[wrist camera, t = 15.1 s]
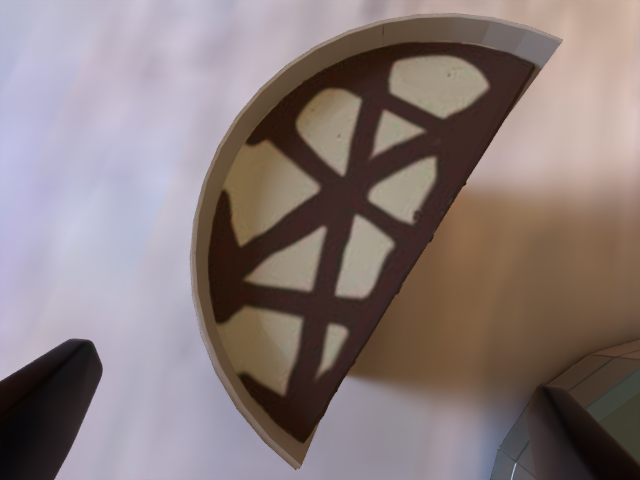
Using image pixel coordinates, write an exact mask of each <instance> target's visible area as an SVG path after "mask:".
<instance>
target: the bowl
mask: <svg viewBox="0 0 640 480" xmlns="http://www.w3.org/2000/svg"><path fill="white" fill-rule="evenodd" d="M547 385H558V386H561V387H563V388H565V389H566V390H567V391H568V392H569V393H570V394H571V395H572V396H573V397H574V398H575V399H576V400H577V401H578V402H579V403H580V404H581V405H582V406H583V407H584V408H585V409H586V410H587V411H588V412H589V413H590V414H591V415H592V416H593V417H594V418H595V419H596V420H597V421H598V422H599V423H600V424H601V425H602V426H603V427H604V428H605V429H606V430H607V431H608V432H609V433H610V434H611V435H612V436H613V437H614V438H615V439H616V440H617V441H618V442H619V443H620V444H621V445H622V446H623V447H624V448H625V449H626V450H627V451H628V452H629V453H630V454H631V455H632V456H633V457H634V458H635V459H636V460H637V461H638V462H639V463H640V339H638V340H635V341H632V342H628V343H625V344H621V345H618V346H614V347H611V348H607V349H604V350H600V351H597V352H594V353H590V354H589V355H587V356H586V357H584V358H583V359H582V360H580V361H579V362H578V363H576V364H575V365H573V366H572V367H571V368H569V369H568V370H566V371H565V372H564V373H562V374H561V375H560V376H558V377H557V378H555V379H554V380H553V381H551V382H550V383H549V384H547ZM529 403H530V402H529ZM528 405H529V404H528ZM528 405H527V407H528ZM527 407H526V408H525V410H524V411H523V413H522V414H521V416H520V417H519V419H518V420H517V422H516V423H515V425H514V426H513V427H512V429H511V430H510V432H509V433H508V435H507V436H506V438H505V439H504V441H503V442H502V444H501V445H500V449H498V453H497V457H496V460H495V464H494V468H493V471H492V475H491V479H490V480H536V477H535V472H534V466H533V460H532V454H531V449H530V443H529V437H528V431H527V425H526V410H527Z"/></svg>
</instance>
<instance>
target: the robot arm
mask: <svg viewBox="0 0 640 480" xmlns="http://www.w3.org/2000/svg"><path fill="white" fill-rule="evenodd" d="M102 371H103V368H102V363H101V361H100V358H99V356H98V353H97V351H96V348H95V346H94V344H93V342H92V341H90V340H85V339H69V340H67V341H65V342H64V343H62V344H60V345H59V346H57V347H56V348H54V349H52V350H51V351H49V352H47V353H46V354H44V355H43V356H41V357H39V358H38V359H36V360H34V361H33V362H31V363H30V364H28V365H26V366H25V367H23V368H21V369H20V370H18V371H17V372H15V373H13V374H12V375H10V376H8V377H7V378H5V379H4V380H2V381H0V480H54V479H55V477H56V475H57V473H58V472H59V470H60V468H61V466H62V464H63V462H64V461H65V459H66V457H67V455H68V453H69V451H70V449H71V447H72V445H73V443H74V440H75V438H76V436H77V434H78V431H79V429H80V427H81V424H82V422H83V419H84V417H85V415H86V412H87V410H88V408H89V405H90V403H91V400H92V398H93V396H94V393H95V391H96V389H97V386H98V384H99V382H100V379H101V376H102ZM526 425H527V431H528V437H529V443H530V449H531V454H532V460H533V466H534V472H535V477H536V480H640V463H639V462H638V461H637V460H636V459H635V458H634V457H633V456H632V455H631V454H630V453H629V452H628V451H627V450H626V449H625V448H624V447H623V446H622V445H621V444H620V443H619V442H618V441H617V440H616V439H615V438H614V437H613V436H612V435H611V434H610V433H609V432H608V431H607V430H606V429H605V428H604V427H603V426H602V425H601V424H600V423H599V422H598V421H597V420H596V419H595V418H594V417H593V416H592V415H591V414H590V413H589V412H588V411H587V410H586V409H585V408H584V407H583V406H582V405H581V404H580V403H579V402H578V401H577V400H576V399H575V398H574V397H573V396H572V395H571V394H570V393H569V392H568V391H567V390H566V389H565V388H563V387H561V386H558V385H547V384H540V385H539V386H537V388H536V390H535V392H534V394H533V396H532V399H531V401H530V403H529V405H528V407H527V410H526Z"/></svg>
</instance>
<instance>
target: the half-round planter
mask: <svg viewBox="0 0 640 480" xmlns="http://www.w3.org/2000/svg"><path fill="white" fill-rule="evenodd" d="M562 41H563V39H560V38H558V37H555V36H552V35H550V34H547V33H545V32H542V31H540V30H537V29H535V28H532V27H530V26H526V25H522V24H518V23H514V22H510V21H506V20H501V19H497V18H493V17H485V16H476V15H467V14H458V13H448V14H417V15H411V16H405V17H399V18H392V19H386V20H382V21H378V22H375V23H372V24H369V25H365V26H362V27H359V28H355V29H352V30H349V31H347V32H345V33H342V34H340V35H338V36H336V37H334V38H332V39H330V40H327V41H325V42H323V43H321V44H319V45H317V46H315V47H314V48H312V49H311V50H309V51H307V52H306V53H304V54H303V55H301V56H300V57H298V58H297V59H295V60H294V61H292V62H291V63H289V64H288V65H286V66H285V67H284V68H283V69H282V70H280V71H279V72H278V73H277V74H276V75H275V76H274V77H273V78H271V79H270V80H269V81H268V82H267V83H266V84H265V85H263V86H262V87H261V88H260V89H259V90H258V92H257V93H256V94H255V95H254V96H253V97H252V99H251V100H250V101H249V102H248V103H247V105H246V106H245V107H244V108H243V109H242V111H241V112H240V113H239V114H238V115H237V117H236V118H235V120H234V122H233V123H232V125H231V126H230V128H229V130H228V131H227V133H226V135H225V136H224V138H223V139H222V141H221V143H220V144H219V146H218V148H217V150H216V153H215V155H214V158H213V160H212V162H211V165H210V167H209V169H208V172H207V174H206V177H205V179H204V182H203V185H202V188H201V192H200V196H199V200H198V204H197V208H196V212H195V216H194V220H193V229H192V240H191V251H190V269H191V285H192V298H193V302H194V307H195V311H196V316H197V320H198V325H199V329H200V334H201V337H202V339H203V342H204V344H205V347H206V350H207V352H208V355H209V357H210V360H211V362H212V365H213V367H214V370H215V372H216V374H217V376H218V378H219V379H220V381H221V383H222V384H223V386H224V388H225V389H226V391H227V393H228V395H229V396H230V398H231V400H232V401H233V403H234V405H235V406H236V408H237V410H238V411H239V412H240V413H241V414H242V416H243V417H244V418H245V419H246V420H247V422H248V423H249V424H250V425H251V426H252V428H253V429H254V430H255V431H256V433H257V434H258V435H259V436H260V437H261V439H262V440H263V441H264V442H265V443H266V444H267V445H268V446H269V447H270V448H272V449H273V450H274V451H275V452H276V453H277V454H278V455H279V456H281V457H282V458H283V459H284V460H285V461H286V462H287V463H288V464H290V465H291V466H292V467H293V468H294V469H295V470H296V469H297V468H298V469H300V467H301V465H302V463H303V461H304V458H305V456H306V453H307V451H308V448H309V446H310V443H311V441H312V439H313V436H314V434H315V431H316V429H317V426H318V424H319V422H320V420H321V419H322V417H323V416H324V414H325V412H326V410H327V407H328V405H329V403H330V401H331V399H332V398H333V396H334V394H335V393H336V392H337V391H338V388H339V386H340V384H341V383H342V381H343V379H344V378H345V376H346V375H347V373H348V371H349V370H350V368H351V367H352V366H353V365H354V364H355V363H356V359H357V357H358V356H359V354H360V352H361V351H362V349H363V348H364V346H365V344H366V343H367V341H368V340H369V338H370V336H371V335H372V333H373V331H374V330H375V328H376V326H377V325H378V323H379V321H380V320H381V318H382V316H383V315H384V313H385V312H386V310H387V308H388V307H389V305H390V303H391V302H392V300H393V298H394V297H395V295H397V294H398V293H399V291H400V289H401V287H402V284H403V282H404V281H405V279H406V278H407V276H408V274H409V273H410V271H411V270H412V268H413V266H414V265H415V263H416V262H417V260H418V258H419V257H420V255H421V254H422V252H423V250H424V249H425V247H426V246H427V244H428V242H431V241H432V239H433V236H434V233H435V231H436V229H437V228H438V226H439V224H440V223H441V221H442V220H443V218H444V216H445V215H446V213H447V211H448V210H449V208H450V206H451V205H452V203H453V202H454V200H455V198H456V197H457V195H458V193H459V192H460V190H461V189H462V187H463V186H465V185H466V181H467V179H468V178H469V176H470V175H471V173H472V171H473V170H474V168H475V167H476V165H477V164H478V162H479V161H480V159H481V157H482V156H483V154H484V153H485V151H486V149H487V148H488V146H489V145H490V143H491V141H492V140H493V138H494V136H495V135H496V133H497V132H498V130H499V128H500V127H501V125H502V123H503V122H504V120H505V119H506V118H507V116H508V115H509V113H510V112H511V111H512V109H513V108H514V107H515V105H516V104H517V103H518V101H519V100H520V98H521V97H522V96H523V94H524V93H525V92H526V90H527V89H528V87H529V86H530V85H531V83H532V82H533V81H534V79H535V78H536V76H537V75H538V74H539V72H540V71H541V70H542V68H543V67H544V66H545V64H546V63H547V61H548V60H549V59H550V57H551V56H552V55H553V53H554V52H555V50H556V49H557V48H558V46H559V45H560V44H561V42H562Z"/></svg>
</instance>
